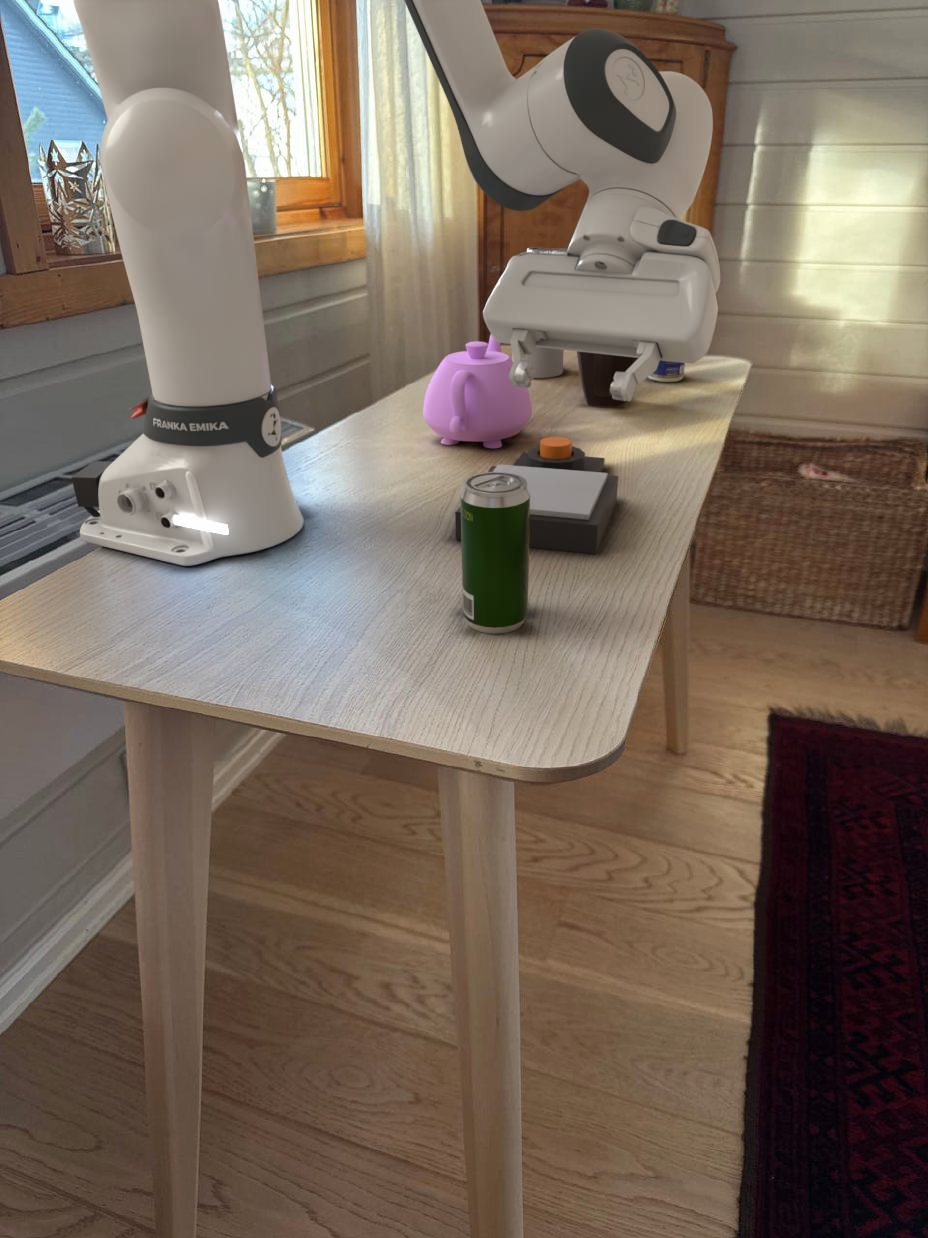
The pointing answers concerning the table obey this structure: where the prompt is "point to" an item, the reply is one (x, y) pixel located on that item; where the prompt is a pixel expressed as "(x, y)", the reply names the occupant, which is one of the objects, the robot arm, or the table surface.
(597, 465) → the box
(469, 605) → the beer can
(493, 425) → the teapot
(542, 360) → the cup
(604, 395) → the mug
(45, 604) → the table surface
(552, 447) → the tare button
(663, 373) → the pill bottle
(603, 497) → the scale
